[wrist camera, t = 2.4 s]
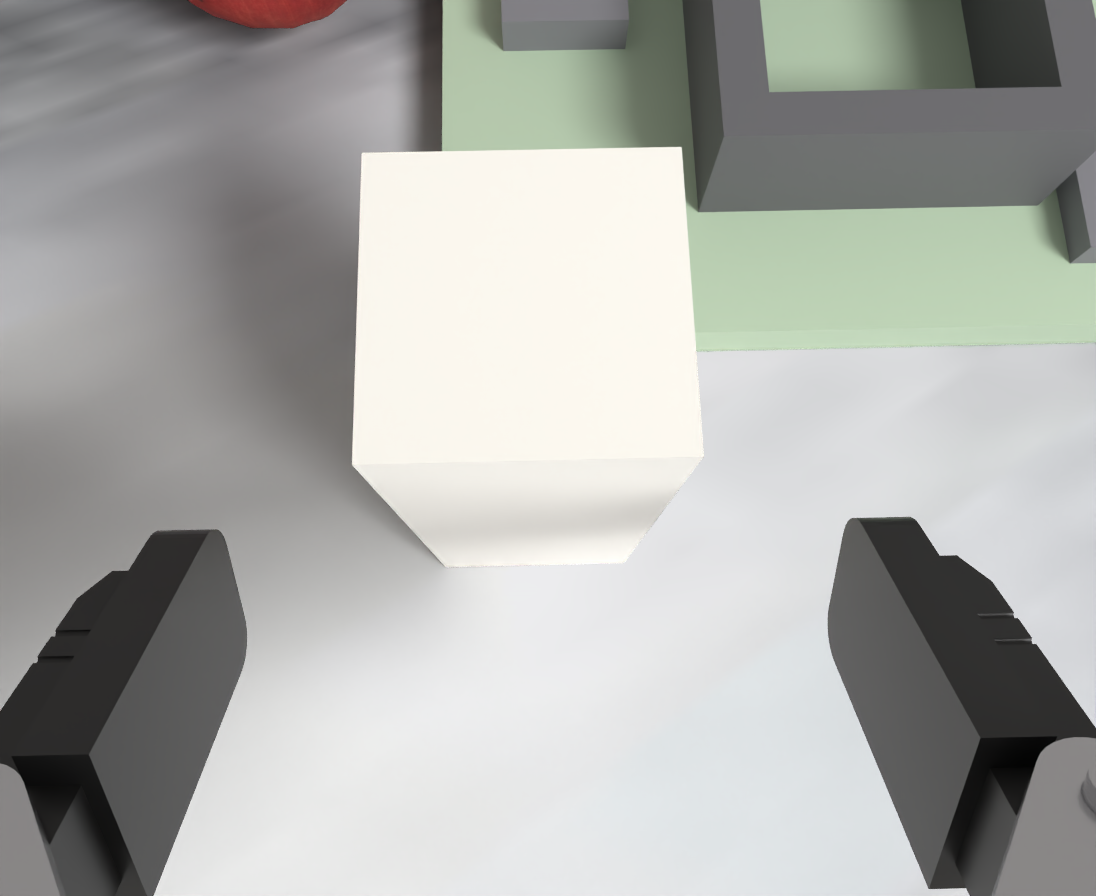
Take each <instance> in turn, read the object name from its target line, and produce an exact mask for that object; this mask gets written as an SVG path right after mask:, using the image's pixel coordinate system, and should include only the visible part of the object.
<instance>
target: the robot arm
mask: <svg viewBox="0 0 1096 896" xmlns="http://www.w3.org/2000/svg"><path fill="white" fill-rule="evenodd" d="M1013 613H1014V612H1013V611H1012V609H1011V608H1010V606H1009V605H1008V603H1007V602H1006V601H1005V599H1004V598H1003V596H1002V595H1001V594H1000V592H999V591H998V589H997V588H996V587H995V585H994V584H993V582H992V581H991V580H989V579H988V578H987V577H985V576H984V575H982V574H981V573H980V572H978V571H977V570H976V569H974V568H973V567H972V566H970V565H969V564H968V563H966V562H965V561H964V560H962V559H961V558H960V557H958V556H957V555H955V556H939V554H938V553H937V551H936V550H935V548H934V546H933V545H932V543H931V542H930V540H929V539H928V537H927V536H926V534H925V533H924V531H923V530H922V528H921V527H920V525H919V524H918V522H917V521H916V520H915V519H913V518H911V517H886V518H852V519H850V520H849V521H848V522H847V524H846V526H845V529H844V533H843V538H842V543H841V548H840V553H839V558H838V563H837V569H836V574H835V579H834V584H833V589H832V594H831V599H830V605H829V611H828V636H829V643H830V648H831V652H832V656H833V659H834V661H835V664H836V666H837V669H838V671H839V673H840V676H841V678H842V681H843V683H844V686H845V688H846V690H847V693H848V695H849V698H850V700H851V702H852V705H853V707H854V710H855V712H856V715H857V717H858V719H859V722H860V724H861V727H862V729H863V731H864V734H865V736H866V739H867V741H868V743H869V746H870V748H871V751H872V753H873V756H874V758H875V760H876V763H877V765H878V768H879V770H880V772H881V775H882V777H883V780H884V782H885V784H886V787H887V789H888V792H889V794H890V797H891V799H892V801H893V804H894V806H895V809H896V811H897V813H898V816H899V818H900V821H901V823H902V825H903V828H904V830H905V833H906V835H907V838H908V840H909V842H910V845H911V847H912V850H913V852H914V854H915V857H916V859H917V862H918V864H919V866H920V869H921V871H922V874H923V876H924V879H925V881H926V883H927V886H928V888H929V889H947V888H967V891H968V893H969V895H970V896H1096V728H1095V726H1094V725H1093V724H1092V722H1091V721H1090V719H1089V718H1088V716H1087V715H1086V714H1085V712H1084V711H1083V709H1082V708H1081V707H1080V705H1079V704H1078V702H1077V701H1076V700H1075V698H1074V697H1073V695H1072V694H1071V692H1070V691H1069V690H1068V688H1067V687H1066V685H1065V684H1064V683H1063V681H1062V680H1061V678H1060V677H1059V676H1058V674H1057V673H1056V671H1055V670H1054V668H1053V667H1052V666H1051V664H1050V663H1049V661H1048V660H1047V659H1046V657H1045V656H1044V654H1043V653H1042V651H1041V650H1040V649H1039V647H1038V646H1037V644H1032V641H1031V639H1032V637H1031V636H1030V635H1029V633H1028V632H1027V630H1026V629H1025V627H1024V626H1023V625H1022V623H1021V622H1020V620H1019V619H1018V618H1014V616H1013ZM246 647H247V628H246V621H245V616H244V612H243V608H242V604H241V600H240V596H239V592H238V588H237V584H236V580H235V576H234V572H233V568H232V564H231V560H230V556H229V552H228V548H227V545H226V541H225V539H224V536H223V535H222V533H221V532H220V531H219V530H168V531H156V532H154V533H153V534H152V535H151V536H150V538H149V539H148V541H147V542H146V544H145V545H144V547H143V548H142V550H141V552H140V553H139V555H138V556H137V558H136V560H135V561H134V563H133V564H132V566H131V567H130V569H129V571H112V572H111V573H109V574H108V575H107V576H105V577H104V578H103V579H102V580H100V581H99V582H98V583H96V584H95V585H94V586H93V587H91V588H90V589H89V590H88V591H86V592H85V593H84V594H82V595H81V596H80V597H79V598H77V600H76V601H75V602H74V604H73V605H72V607H71V608H70V610H69V611H68V613H67V614H66V616H65V617H64V619H63V620H62V621H61V623H60V624H59V626H58V627H57V629H56V635H55V637H51V638H50V639H49V641H48V642H47V643H46V645H45V646H44V648H43V649H42V651H41V652H40V654H39V655H38V662H37V663H33V664H32V665H31V667H30V668H29V670H28V671H27V673H26V674H25V676H24V677H23V679H22V680H21V682H20V683H19V684H18V686H17V687H16V689H15V690H14V692H13V693H12V695H11V696H10V698H9V699H8V701H7V702H6V703H5V705H4V706H3V708H2V709H1V711H0V896H153V895H154V893H155V890H156V888H157V885H158V883H159V880H160V877H161V875H162V872H163V870H164V867H165V865H166V862H167V860H168V857H169V855H170V852H171V849H172V847H173V844H174V842H175V839H176V837H177V834H178V832H179V829H180V827H181V824H182V822H183V819H184V816H185V814H186V811H187V809H188V806H189V804H190V801H191V799H192V796H193V794H194V791H195V788H196V786H197V783H198V781H199V778H200V776H201V773H202V771H203V768H204V766H205V763H206V760H207V758H208V755H209V753H210V750H211V748H212V745H213V743H214V740H215V738H216V735H217V733H218V730H219V727H220V725H221V722H222V720H223V717H224V715H225V712H226V710H227V707H228V705H229V702H230V699H231V697H232V694H233V692H234V689H235V687H236V684H237V682H238V679H239V677H240V674H241V671H242V668H243V665H244V661H245V656H246Z"/></svg>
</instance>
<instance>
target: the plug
mask: <svg viewBox="0 0 1096 896" xmlns="http://www.w3.org/2000/svg"><path fill="white" fill-rule="evenodd" d="M703 457H704V452H703V438H702V424H701V410H700V396H699V382H698V368H697V354H696V340H695V326H694V312H693V298H692V284H691V270H690V256H689V242H688V229H687V215H686V201H685V187H684V173H683V159H682V147H646V148H593V149H540V150H486V151H433V152H380V153H362V159H361V191H360V223H359V255H358V287H357V319H356V351H355V383H354V415H353V447H352V465H353V467H354V468H355V469H356V470H357V471H358V472H359V473H360V474H361V475H362V476H363V477H364V479H365V480H366V481H367V482H368V483H369V484H370V485H371V486H372V487H373V488H374V489H375V491H376V492H377V493H378V494H379V495H380V496H381V497H382V498H383V499H384V500H385V501H386V503H387V504H388V505H389V506H390V507H391V508H392V509H393V510H394V511H395V512H396V513H397V515H398V516H399V517H400V518H401V519H402V520H403V521H404V522H405V523H406V524H407V525H408V527H409V528H410V529H411V530H412V531H413V532H414V533H415V534H416V535H417V536H418V537H419V539H420V540H421V541H422V542H423V543H424V544H425V545H426V546H427V547H428V548H429V549H430V551H431V552H432V553H433V554H434V555H435V556H436V557H437V558H438V559H439V560H440V561H441V563H442V564H443V565H444V566H445V567H446V568H447V567H487V566H528V565H569V564H609V563H625V561H626V560H627V559H628V557H629V556H630V555H631V553H632V552H633V551H634V549H635V548H636V547H637V545H638V544H639V543H640V541H641V540H642V539H643V537H644V536H645V535H646V533H647V532H648V531H649V529H650V528H651V527H652V525H653V524H654V523H655V521H656V520H657V519H658V517H659V516H660V515H661V513H662V512H663V511H664V509H665V508H666V507H667V505H668V504H669V503H670V501H671V500H672V499H673V497H674V496H675V495H676V493H677V492H678V491H679V489H680V488H681V487H682V485H683V484H684V483H685V481H686V480H687V479H688V477H689V476H690V475H691V473H692V472H693V471H694V469H695V468H696V467H697V465H698V464H699V463H700V461H701V460H702V459H703Z"/></svg>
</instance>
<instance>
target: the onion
mask: <svg viewBox="0 0 1096 896" xmlns="http://www.w3.org/2000/svg"><path fill="white" fill-rule="evenodd" d="M188 1H190V2H191V3H192V4H194V5H195V6H197V7H199V8H201V9H202V10H204V11H206V12H208V13H209V14H211V15H213V16H215V17H218V18H221V19H225V20H228V21H231V22H234V23H238V24H241V25H244V26H247V27H250V28H295V27H297V26H300V25H303V24H306V23H309V22H312V21H316V20H321V19H323V18H325V17H327V16H329V15H330V14H332V13H333V12H334V11H335V10H336V9H337V8H339V7H340V6H341V5H342V4H343V3H344V2H346V1H347V0H188Z"/></svg>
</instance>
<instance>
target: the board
mask: <svg viewBox="0 0 1096 896" xmlns="http://www.w3.org/2000/svg"><path fill="white" fill-rule="evenodd" d="M646 147H682V159H683V173H684V187H685V201H686V215H687V229H688V242H689V256H690V270H691V284H692V298H693V312H694V326H695V340H696V351H732V350H778V349H823V348H869V347H915V346H960V345H1006V344H1051V343H1096V0H443V54H442V151H486V150H540V149H593V148H646Z"/></svg>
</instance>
